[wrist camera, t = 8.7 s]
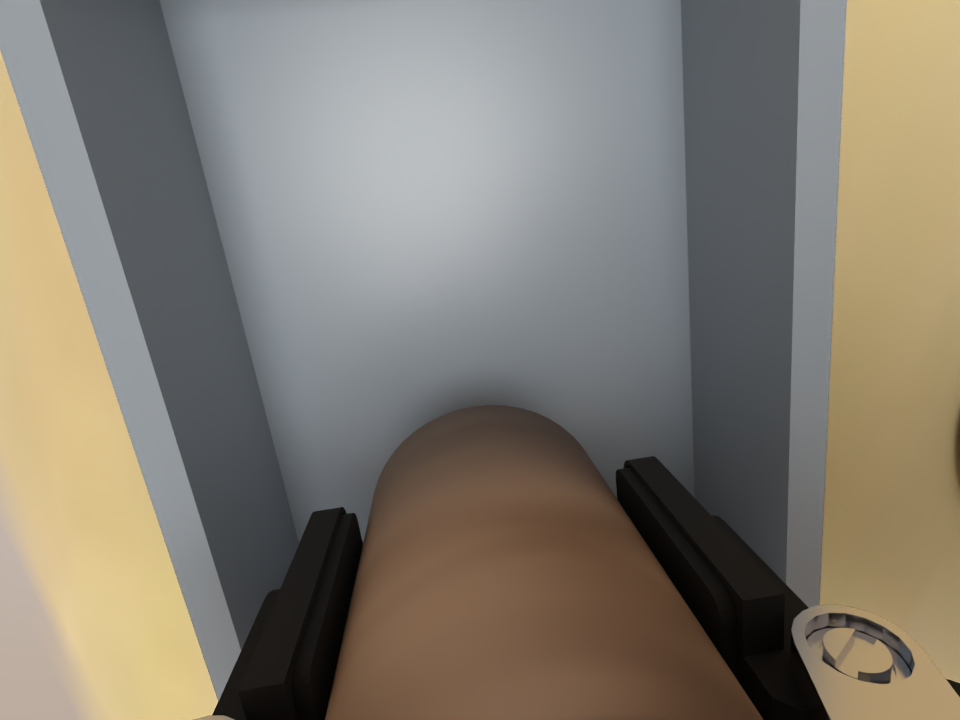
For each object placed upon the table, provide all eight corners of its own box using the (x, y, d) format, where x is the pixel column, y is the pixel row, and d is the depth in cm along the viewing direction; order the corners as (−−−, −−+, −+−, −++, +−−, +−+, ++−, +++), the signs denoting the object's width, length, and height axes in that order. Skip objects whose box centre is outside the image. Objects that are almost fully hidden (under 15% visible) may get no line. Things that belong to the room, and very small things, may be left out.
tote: (116, -66, 12) (-104, -262, 7) (698, -134, 12) (863, -361, 8) (291, 585, 17) (230, 735, 12) (710, 518, 17) (817, 636, 12)
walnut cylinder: (646, 487, 12) (947, 861, 5) (507, 645, 12) (596, 1161, 6) (466, 357, 10) (526, 607, 4) (325, 540, 11) (161, 1024, 4)
